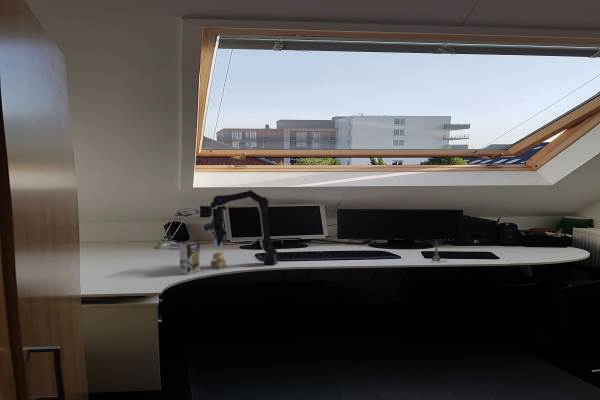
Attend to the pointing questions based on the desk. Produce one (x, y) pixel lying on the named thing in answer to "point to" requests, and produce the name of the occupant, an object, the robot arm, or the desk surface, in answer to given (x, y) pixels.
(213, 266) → the base block
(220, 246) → the cylinder
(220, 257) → the top block
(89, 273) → the desk surface
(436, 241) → the eiffel tower figurine
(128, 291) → the desk surface
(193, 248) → the coffee box
